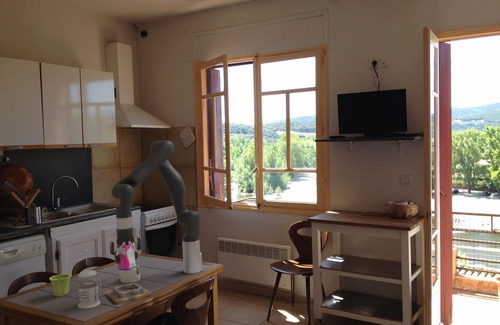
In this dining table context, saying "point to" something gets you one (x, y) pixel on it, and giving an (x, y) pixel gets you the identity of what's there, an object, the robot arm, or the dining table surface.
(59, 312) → the dining table surface
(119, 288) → the wooden board with frame
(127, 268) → the supplement box
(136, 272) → the engine component
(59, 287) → the plant pot
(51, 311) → the dining table surface
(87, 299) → the french press
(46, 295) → the dining table surface
